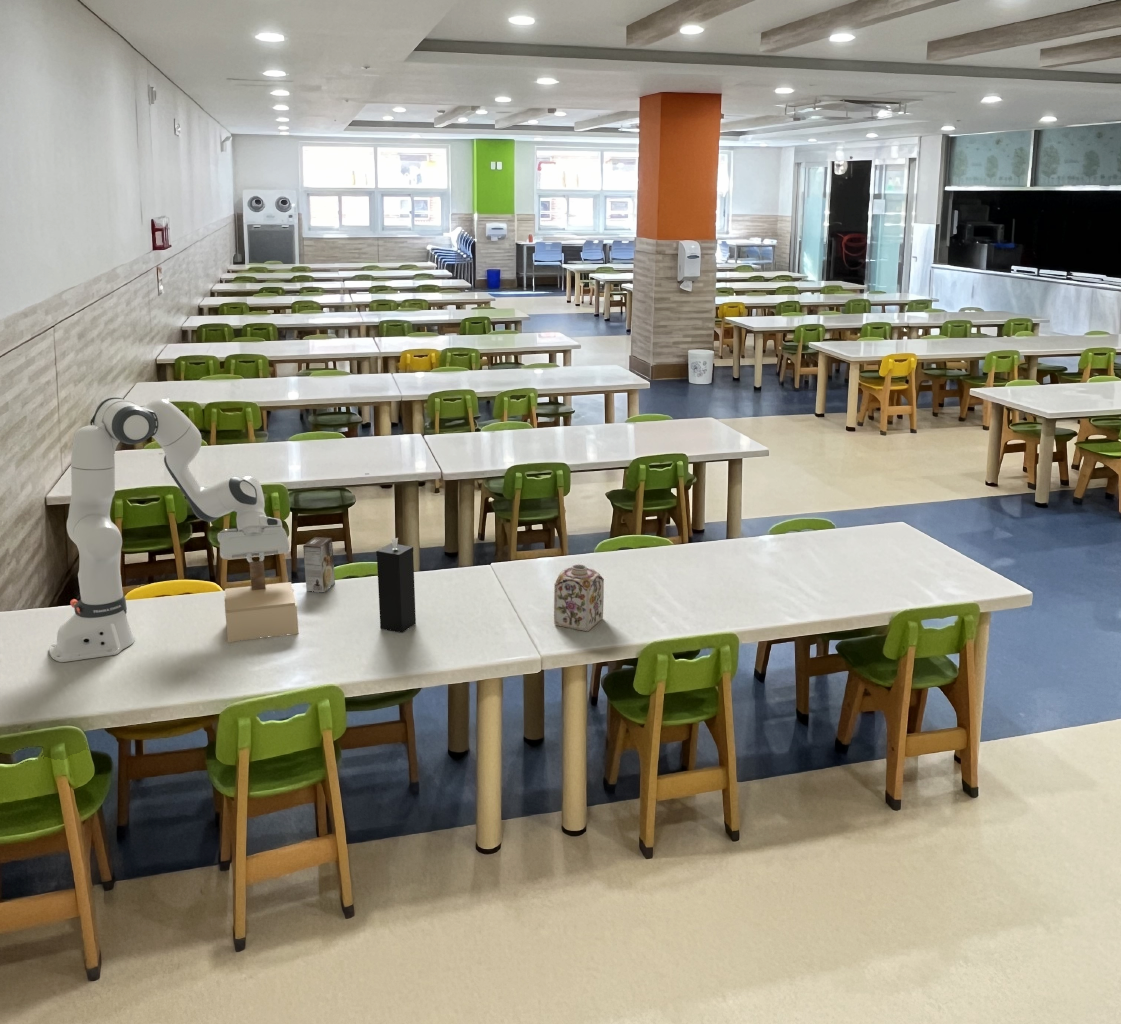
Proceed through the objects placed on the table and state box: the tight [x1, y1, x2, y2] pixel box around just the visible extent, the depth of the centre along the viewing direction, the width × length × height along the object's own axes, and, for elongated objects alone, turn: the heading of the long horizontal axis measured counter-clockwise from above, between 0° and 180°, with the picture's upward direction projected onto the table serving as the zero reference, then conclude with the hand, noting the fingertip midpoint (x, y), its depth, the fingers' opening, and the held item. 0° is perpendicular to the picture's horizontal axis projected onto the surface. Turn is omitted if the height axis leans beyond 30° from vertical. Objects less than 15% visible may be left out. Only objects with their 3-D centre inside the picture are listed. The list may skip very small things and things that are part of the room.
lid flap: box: [224, 560, 296, 613], centre depth 317 cm, size 19×14×9 cm
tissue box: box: [375, 537, 417, 634], centre depth 320 cm, size 8×8×28 cm
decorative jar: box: [553, 563, 605, 632], centre depth 325 cm, size 12×12×18 cm
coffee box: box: [302, 536, 336, 593], centre depth 352 cm, size 9×6×16 cm
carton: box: [223, 588, 299, 643], centre depth 321 cm, size 20×14×9 cm
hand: (256, 568), depth 323 cm, fingers closed, pressing on lid flap
